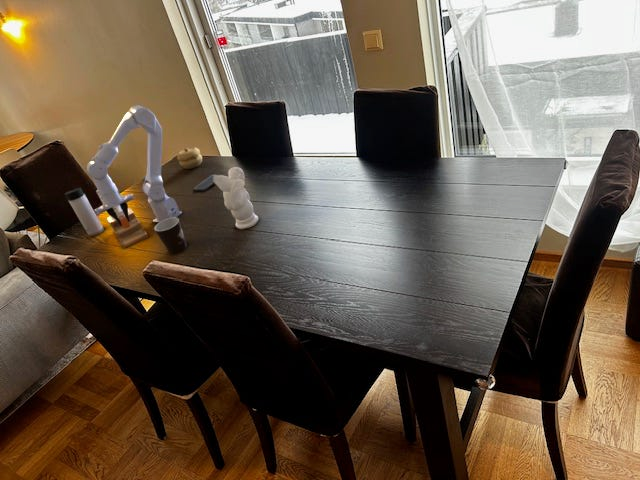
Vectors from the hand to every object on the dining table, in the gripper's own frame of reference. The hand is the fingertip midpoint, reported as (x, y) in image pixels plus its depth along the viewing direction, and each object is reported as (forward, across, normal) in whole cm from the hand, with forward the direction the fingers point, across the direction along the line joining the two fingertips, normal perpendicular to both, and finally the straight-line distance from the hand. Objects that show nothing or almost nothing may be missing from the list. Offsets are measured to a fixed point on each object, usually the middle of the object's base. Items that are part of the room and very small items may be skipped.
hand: (124, 222), depth 174 cm
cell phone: (+5, +40, +16) cm, 43 cm away
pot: (+6, +43, +46) cm, 63 cm away
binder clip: (+1, 0, 0) cm, 1 cm away
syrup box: (+6, +1, +23) cm, 24 cm away
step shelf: (+5, 0, 0) cm, 5 cm away
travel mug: (+6, -11, +17) cm, 21 cm away
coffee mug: (+6, +12, -29) cm, 31 cm away
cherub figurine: (+6, +35, -38) cm, 52 cm away
